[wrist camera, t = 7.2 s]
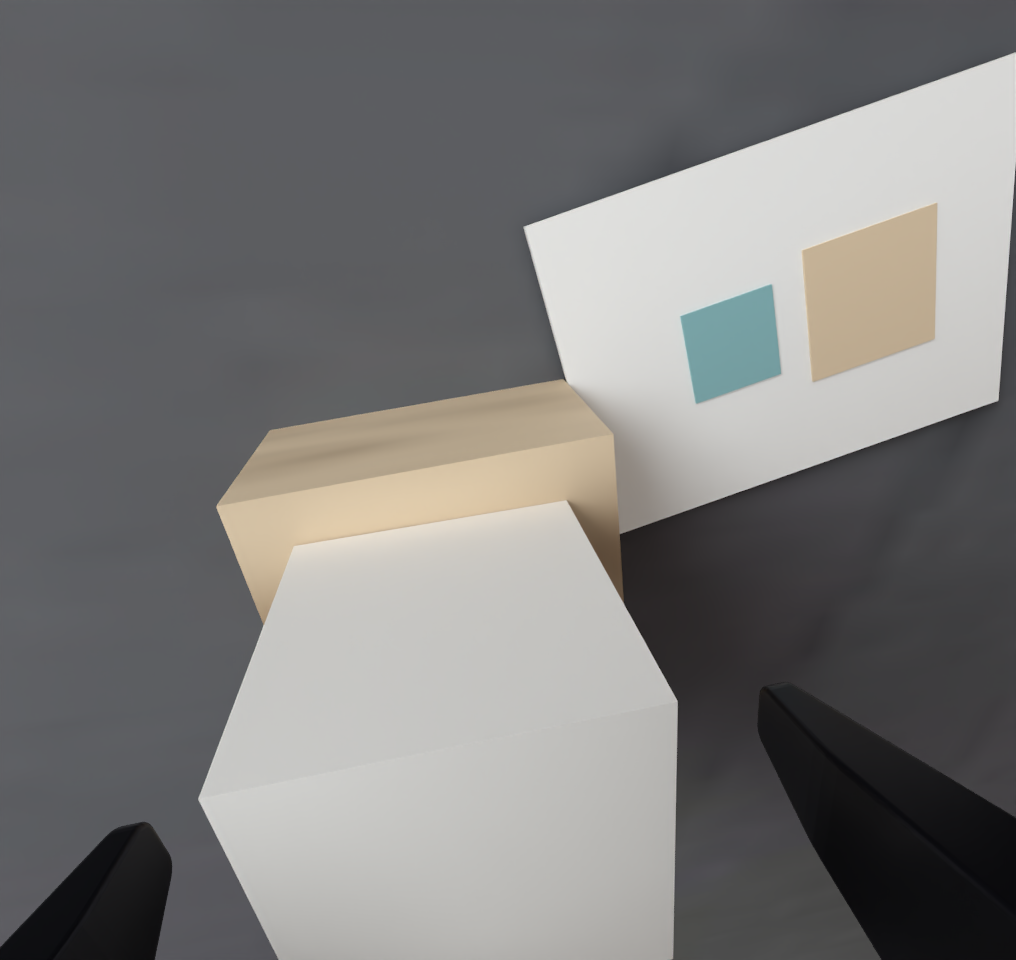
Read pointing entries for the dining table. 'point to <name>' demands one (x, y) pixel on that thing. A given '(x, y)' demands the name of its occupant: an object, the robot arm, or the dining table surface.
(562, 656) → the white cube
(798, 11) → the dining table surface
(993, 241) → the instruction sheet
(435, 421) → the oak base
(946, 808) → the robot arm
